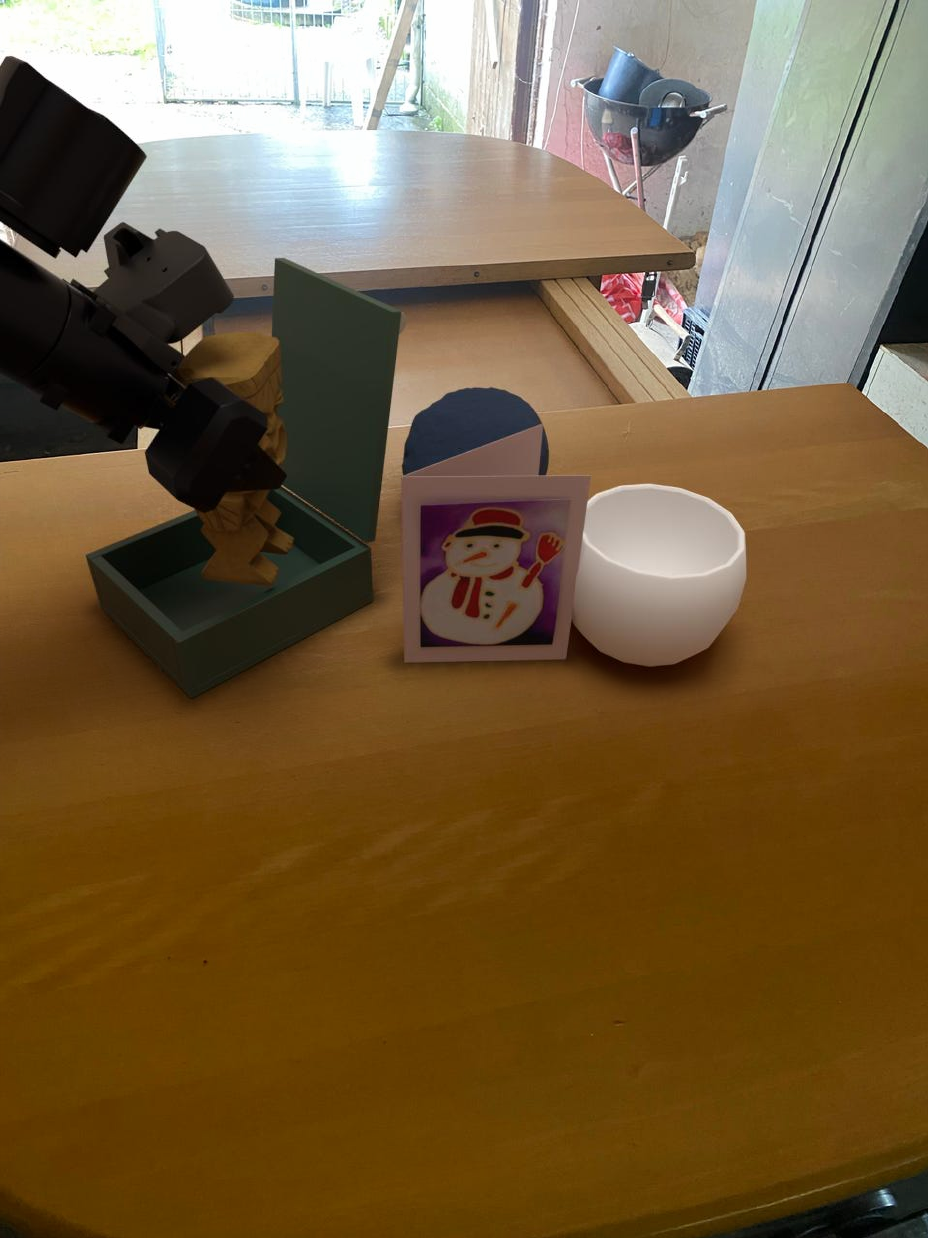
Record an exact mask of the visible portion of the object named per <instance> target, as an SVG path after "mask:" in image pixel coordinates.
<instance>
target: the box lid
mask: <svg viewBox="0 0 928 1238" xmlns="http://www.w3.org/2000/svg"><path fill="white" fill-rule="evenodd" d="M273 269H274V270H273V293H272V317H271V318H272V319H271V320H272V321H271V337H276V338H277V339H278V340H279V343H280V349H281V376H282V382H281V385H280V388H281V390H282V397H283V402H282V403H281V405H280V406H278V407H277V408H276V410H277V413H278V415H279V417H280V418H281V420H282V421H283V423H284V427H285V432H286V436H287V446H286V451H285V459H284V460H283V462H282V465H281V467H280V468H281V469H282V470H283V471H284V472H285V473H286V474H287V477H286V479H285V481H284V482H283V484H282V485H281V486H282V487H283V488H285V489H286V490H288V491H289V492H291V493H292V494H294V495H295V496H297V497H298V498H300V499H301V500H302V501H304V502H305V503H307V504H308V505H310V506H311V507H313V508H314V509H316V510H317V511H318V512H320V513H321V514H323V515H324V516H326V517H327V518H329V519H330V520H332V521H333V522H334V523H336V524H337V525H339V526H340V527H342V528H343V529H345V530H346V531H348V532H349V533H351V534H352V535H353V536H355V537H356V538H358V539H359V540H361V541H362V542H364V543H365V544H369V543H372V542H374V541H376V538H377V537H376V536H377V529H378V527H377V526H378V519H379V512H380V511H379V510H380V501H381V494H382V484H383V476H384V467H385V459H386V451H387V441H388V434H389V433H388V432H389V424H390V416H391V407H392V399H393V390H394V381H395V374H396V373H395V371H396V363H397V355H398V347H399V339H400V334H402V332H403V331H404V330H405V328H406V326H407V317H406V314H405V313H404V312H403V311H402V310H400V309H398V308H396V307H393V306H392V305H389V304H387V303H385V302H382V301H380V300H378V299H375V298H373V297H372V296H369V295H367V294H364V293H363V292H360V291H358V290H356V289H353V288H352V287H349V286H347V285H345V284H343V283H340V282H338V281H336V280H334V279H331V278H329V277H327V276H325V275H323V274H321V273H318V272H316V271H314V270H312V269H310V268H307V267H305V266H303V265H301V264H298V263H297V262H294V261H293V260H290V259H287V258H285V257H275V258H274V268H273Z"/></svg>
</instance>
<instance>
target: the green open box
mask: <svg viewBox="0 0 928 1238" xmlns="http://www.w3.org/2000/svg"><path fill="white" fill-rule="evenodd" d="M266 499H267V500H268V501H269V502H271V503H272V504H273V505H274V506H275V507H276V508H277V509H279V510H280V512H281V515H280V516H279V518H278V520H277V521H276V523H275V525H274V526H276V527H277V528H278V529H280V530H282V531H283V532H285V533H287V534H289V535H290V536H292V537H293V538H294V543H293V547H292V548H291V550H290V551H289V553H288V555H286V554H274V553H265V552H260V553H261V554H262V555H264V556H265V557H266V558H267V559H268V560H269V561H271V562H272V563H273V564H275V565H276V566H277V567H278V568H279V572H278V574H277V577H276V580H275V582H274V583H273V584H272V585H271V586H265V585H253V584H243V583H233V582H223V581H215V580H207V579H204V578H203V576H202V574H201V573H202V571H203V569H204V568H205V566H206V564H207V563H208V561H209V560H210V558H211V557H212V556H213V555H214V553H215V552H216V550H215V548H214V547H213V545H212V544H211V543H210V542H209V541H208V539H207V538H206V537H205V536H204V534H203V533H202V532H201V529H202V527H203V525H204V522H203V521H202V520H201V519H200V517H199V516H198V514H197V513H196V511H195V509H193V510H192V511H189V512H187V513H184V514H181V515H179V516H177V517H174V518H172V519H169V520H167V521H165V522H162V523H159V524H157V525H155V526H152V527H149V528H147V529H145V530H142V531H140V532H138V533H135V534H133V535H131V536H128V537H126V538H122V539H121V540H118V541H116V542H114V543H111V544H108V545H105V546H103V547H102V548H99V549H96V550H94V551H91V552H89V553H87V554H85V558H86V562H87V565H88V569H89V572H90V576H91V579H92V583H93V586H94V589H95V593H96V597H97V600H98V603H99V607H100V610H101V611H102V612H103V613H104V614H105V615H106V616H107V617H108V618H109V619H110V620H111V621H112V622H113V623H114V624H115V625H116V626H117V627H118V628H119V629H120V630H121V631H122V632H123V633H124V634H125V635H126V636H127V637H128V638H129V639H130V640H132V641H133V642H134V644H135V645H137V646H138V648H139V649H141V651H143V653H144V654H145V655H147V656H148V657H149V658H150V660H151V661H153V663H154V664H156V665H157V666H158V667H159V668H160V669H161V670H162V671H163V672H164V673H165V674H166V676H168V678H170V680H172V681H173V682H174V683H175V685H176V686H178V687H179V689H181V690H182V691H183V692H184V694H185V695H187V697H189V698H190V699H193V698H196V697H198V696H199V695H201V694H204V693H205V692H207V691H208V690H210V689H212V688H214V687H216V686H218V685H220V684H221V683H223V682H225V681H227V680H229V679H231V678H233V677H235V676H236V675H239V674H240V673H242V672H244V671H246V670H248V669H250V668H252V667H254V666H255V665H257V664H259V663H261V662H262V661H264V660H267V659H268V658H270V657H272V656H274V655H276V654H278V653H280V652H281V651H283V650H285V649H286V648H289V647H290V646H292V645H294V644H296V643H298V642H300V641H302V640H304V639H305V638H307V637H309V636H311V635H313V634H315V633H316V632H318V631H320V630H322V629H324V628H326V627H328V626H330V625H332V624H334V623H336V622H337V621H339V620H341V619H342V618H345V617H346V616H349V615H350V614H352V613H355V612H356V611H358V610H360V609H361V608H363V607H365V606H367V605H369V604H372V602H373V603H374V586H373V585H374V583H373V561H372V559H373V558H372V547H371V546H370V545H368V543H366V542H364V541H363V540H362V539H360V538H359V537H357V536H356V535H354V534H353V533H351V532H350V531H348V530H347V529H345V528H344V527H343V526H341V525H340V524H338V523H337V522H335V521H334V520H332V519H331V518H329V517H328V516H326V515H325V514H324V513H322V512H321V511H319V510H318V509H316V508H315V507H313V506H312V505H310V504H309V503H307V502H306V501H305V500H303V499H302V498H300V497H299V496H297V495H296V494H294V493H293V492H291V491H290V490H288V489H287V488H286V487H284V486H283V485H281V487H280V488H279V489H276V490H270V491H269V493H268V494H267V496H266Z"/></svg>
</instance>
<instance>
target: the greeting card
mask: <svg viewBox="0 0 928 1238" xmlns="http://www.w3.org/2000/svg"><path fill="white" fill-rule="evenodd" d="M543 426H544V423H542V424H540V425H538V426H535V427H532V428H530V429H527V430H524V431H522V432H519V433H516V434H514V435H511V436H508V437H506V438H503V439H500V440H498V441H495V442H492V443H490V444H487V445H484V446H482V447H479V448H476V449H474V450H471V451H468V452H466V453H463V454H460V455H458V456H455V457H452V458H450V459H447V460H444V461H442V462H439V463H436V464H434V465H431V466H428V467H426V468H423V469H420V470H418V471H415V472H412V473H410V474H407V475H404V476H403V475H402V476H400V480H401V481H400V483H401V484H400V485H401V486H400V487H401V491H400V492H401V545H402V547H401V548H402V549H401V551H402V553H401V554H402V555H401V556H402V601H403V602H402V607H403V608H402V609H403V610H402V611H403V613H402V615H403V660H404V661H403V663H404V664H406V663H407V664H408V663H409V664H410V663H449V662H450V663H453V662H455V663H457V662H499V661H546V660H550V661H551V660H567V655H568V647H569V642H570V641H569V640H570V633H571V625H572V611H573V598H574V590H575V583H576V575H577V573H578V567H579V560H580V553H581V546H582V538H583V531H584V524H585V516H586V509H587V502H588V500H589V493H590V486H591V485H590V484H591V480H592V475H590V474H588V475H587V474H586V475H585V474H583V475H581V474H579V475H577V474H575V475H572V474H571V475H570V474H569V475H567V474H565V475H561V474H560V475H546V476H538V475H539V464H540V453H541V443H542V432H543Z"/></svg>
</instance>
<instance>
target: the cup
mask: <svg viewBox="0 0 928 1238" xmlns="http://www.w3.org/2000/svg"><path fill="white" fill-rule="evenodd" d="M746 546H747V545H746V532H745V531H744V529H743V528H742V526H741V525H740V523H739V522H738V521H737V519H736V518H735V516H734V515H733V513H732V512H730V511H729V510H727V509H726V508H725V507H723V506H721V505H720V504H719V503H717V502H716V501H714V500H713V499H711V498H710V497H707V496H704V495H702V494H698V493H696V492H692V491H690V490H687V489H684V488H681V487H677V486H669V485H662V484H655V483H639V484H626V485H619V486H615V487H612V488H609V489H606V490H603V491H601V492H597V493H595V494H593V496H592V497H591V498H590V499H588V502H587V509H586V516H585V524H584V531H583V538H582V546H581V553H580V560H579V567H578V573H577V575H576V583H575V590H574V598H573V611H572V619H571V621H572V622H573V626H574V627H575V628H576V629H577V631H578V632H580V634H581V635H582V636H583V637H584V638H585V639H586V640H587V641H588V642H589V643H590V644H591V645H592V646H593V647H594V648H596V649H597V650H598V651H599V652H600V653H603V654H604V655H607V656H609V657H611V658H613V659H616V660H618V661H620V662H622V663H626V664H632V665H638V666H644V667H658V666H659V667H660V666H669V665H675V664H677V663H680V662H682V661H684V660H687V659H689V658H691V657H693V656H695V655H697V654H699V653H701V652H702V651H705V650H707V649H710V647H711V645H712V644H713V642H714V641H715V640H716V639H717V638H718V636H719V635H720V634H721V633H722V631H723V630H724V628H725V627H726V626H727V624H728V623H729V621H730V620H731V618H732V617H733V616H734V614H735V613H736V612H737V610H738V609H739V606H740V602H741V599H742V595H743V592H744V589H745V585H746V581H747V547H746Z"/></svg>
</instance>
